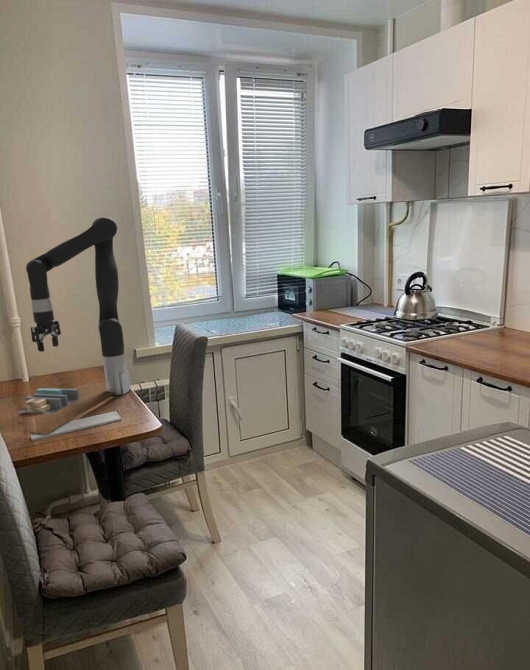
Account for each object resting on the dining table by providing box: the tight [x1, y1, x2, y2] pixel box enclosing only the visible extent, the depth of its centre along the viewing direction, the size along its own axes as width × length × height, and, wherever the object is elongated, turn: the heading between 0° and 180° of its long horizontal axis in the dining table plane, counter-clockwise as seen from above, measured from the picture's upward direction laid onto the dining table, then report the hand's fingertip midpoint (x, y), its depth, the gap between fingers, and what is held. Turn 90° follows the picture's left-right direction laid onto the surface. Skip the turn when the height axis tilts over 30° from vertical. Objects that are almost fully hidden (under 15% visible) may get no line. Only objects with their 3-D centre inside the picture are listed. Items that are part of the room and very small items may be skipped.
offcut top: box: [24, 399, 47, 408], centre depth 201 cm, size 7×4×2 cm, turn 74°
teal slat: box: [36, 387, 63, 395], centre depth 212 cm, size 5×2×11 cm
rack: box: [18, 387, 81, 415], centre depth 207 cm, size 16×18×6 cm
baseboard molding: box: [29, 409, 122, 442], centre depth 188 cm, size 31×3×12 cm
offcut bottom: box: [26, 404, 51, 413], centre depth 201 cm, size 8×4×2 cm, turn 74°
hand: (48, 348), depth 207 cm, fingers open, 8 cm apart
